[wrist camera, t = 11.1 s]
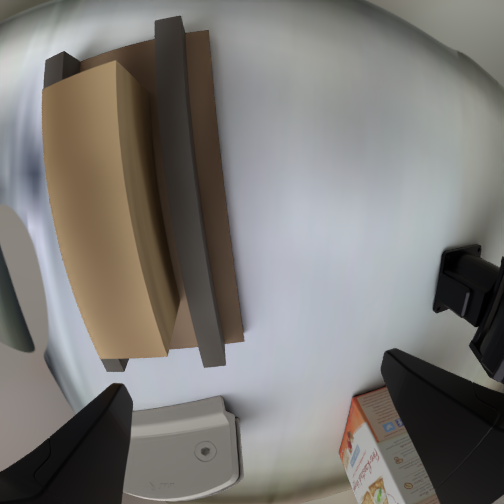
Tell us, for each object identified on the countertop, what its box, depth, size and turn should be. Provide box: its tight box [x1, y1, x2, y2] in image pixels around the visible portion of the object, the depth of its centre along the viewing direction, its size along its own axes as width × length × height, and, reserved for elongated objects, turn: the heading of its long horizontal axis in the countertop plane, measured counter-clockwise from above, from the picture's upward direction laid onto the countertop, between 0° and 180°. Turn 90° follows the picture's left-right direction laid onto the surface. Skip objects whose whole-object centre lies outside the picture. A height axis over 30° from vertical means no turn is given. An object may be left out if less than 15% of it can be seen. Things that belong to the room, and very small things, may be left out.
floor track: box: [43, 16, 244, 372], centre depth 15 cm, size 12×22×4 cm, turn 6°
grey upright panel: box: [123, 396, 244, 501], centre depth 20 cm, size 17×5×10 cm, turn 107°
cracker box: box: [339, 387, 440, 504], centre depth 18 cm, size 14×6×21 cm, turn 6°
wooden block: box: [42, 60, 180, 359], centre depth 13 cm, size 4×14×6 cm, turn 6°
